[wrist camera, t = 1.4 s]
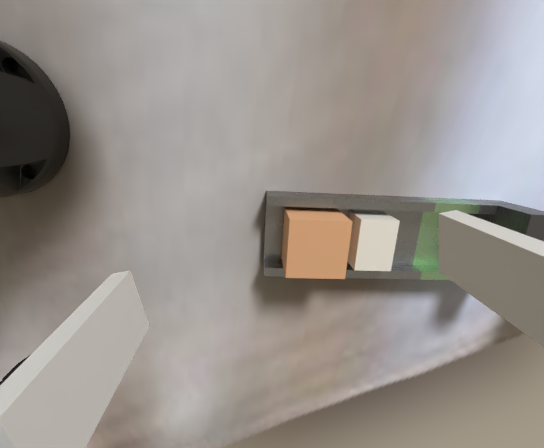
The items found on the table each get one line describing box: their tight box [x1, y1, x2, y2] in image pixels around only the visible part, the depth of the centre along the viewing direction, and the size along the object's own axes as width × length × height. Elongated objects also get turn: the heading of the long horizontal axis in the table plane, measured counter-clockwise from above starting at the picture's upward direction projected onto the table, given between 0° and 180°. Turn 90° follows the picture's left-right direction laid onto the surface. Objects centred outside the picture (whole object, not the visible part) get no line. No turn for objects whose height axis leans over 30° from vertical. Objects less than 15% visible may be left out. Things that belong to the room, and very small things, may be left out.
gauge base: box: [263, 191, 544, 280], centre depth 32 cm, size 28×9×7 cm, turn 87°
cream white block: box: [347, 211, 400, 271], centre depth 32 cm, size 4×6×4 cm
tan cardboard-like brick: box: [281, 208, 352, 279], centre depth 31 cm, size 6×6×5 cm
